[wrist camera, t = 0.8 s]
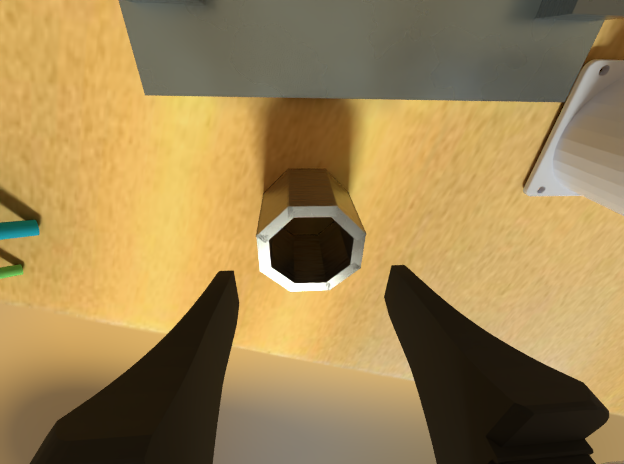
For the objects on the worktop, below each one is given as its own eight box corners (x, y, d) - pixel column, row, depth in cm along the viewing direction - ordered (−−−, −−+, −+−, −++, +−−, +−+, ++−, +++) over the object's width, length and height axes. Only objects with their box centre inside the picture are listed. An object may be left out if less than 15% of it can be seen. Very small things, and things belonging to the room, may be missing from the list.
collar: (351, 168, 17) (370, 205, 13) (343, 241, 20) (357, 289, 16) (261, 168, 17) (252, 206, 13) (267, 242, 20) (261, 292, 16)
